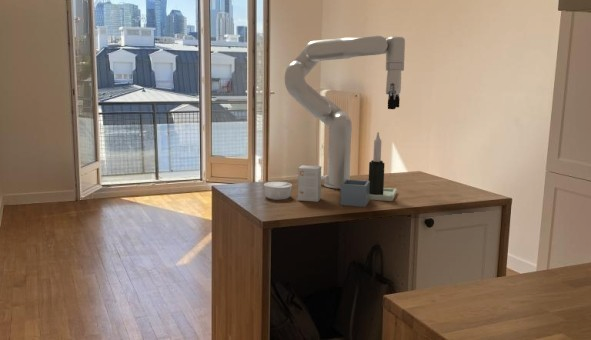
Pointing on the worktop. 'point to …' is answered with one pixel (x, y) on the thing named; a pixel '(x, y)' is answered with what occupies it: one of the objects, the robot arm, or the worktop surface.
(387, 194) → the tray
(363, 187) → the holder
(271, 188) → the ramekin
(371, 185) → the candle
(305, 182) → the small box
